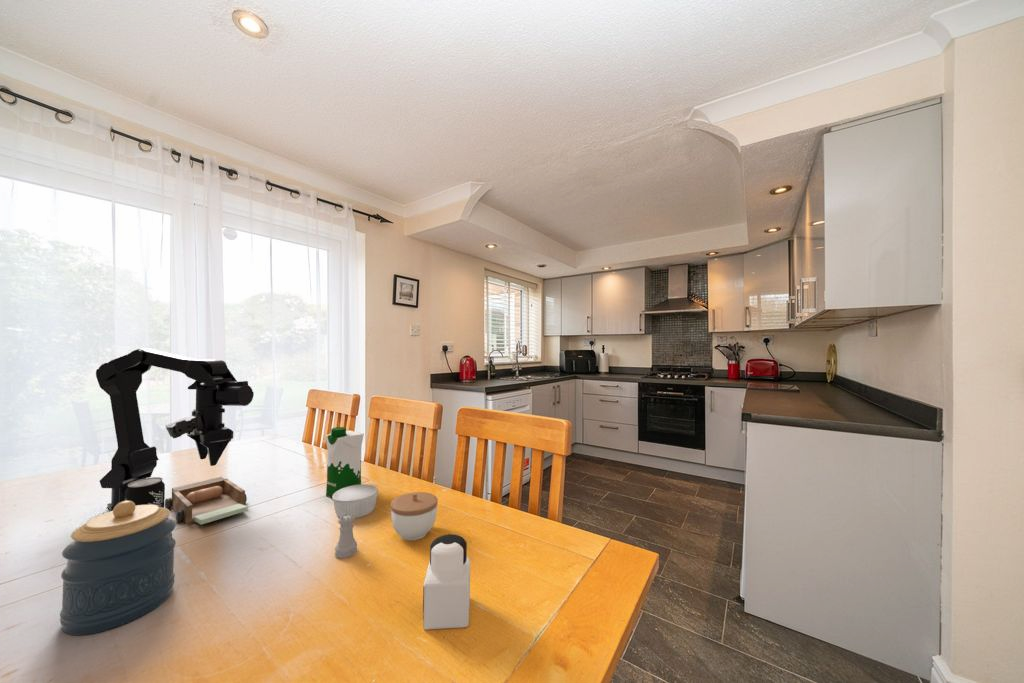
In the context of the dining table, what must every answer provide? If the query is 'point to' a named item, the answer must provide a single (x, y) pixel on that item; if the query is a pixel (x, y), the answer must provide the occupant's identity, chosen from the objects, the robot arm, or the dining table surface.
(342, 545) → the rook chess piece
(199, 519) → the tailgate
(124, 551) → the canister
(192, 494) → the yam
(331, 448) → the milk carton
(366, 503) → the ramekin
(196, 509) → the wooden drawer box
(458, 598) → the white block figurine
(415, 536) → the lidded jar
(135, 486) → the beverage can
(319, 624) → the dining table surface
